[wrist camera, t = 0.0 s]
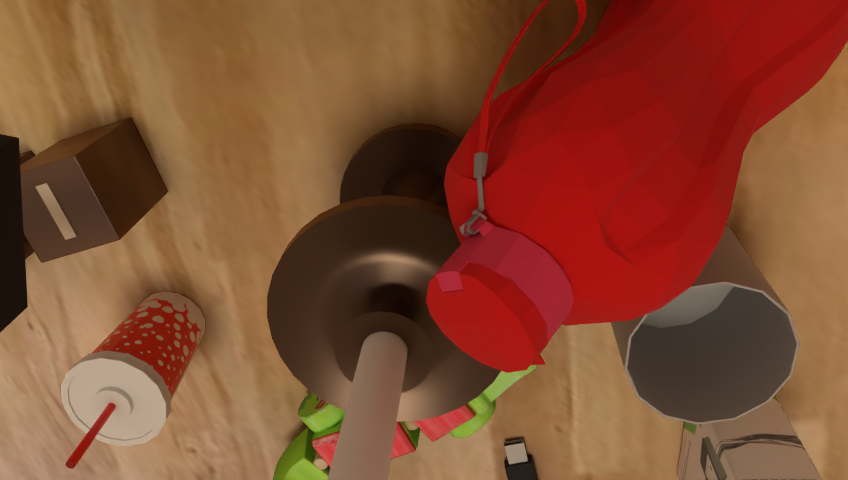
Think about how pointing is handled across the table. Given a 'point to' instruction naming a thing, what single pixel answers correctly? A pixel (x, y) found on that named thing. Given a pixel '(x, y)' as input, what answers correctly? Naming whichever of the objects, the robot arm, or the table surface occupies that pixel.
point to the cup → (712, 343)
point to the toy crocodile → (314, 448)
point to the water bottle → (615, 166)
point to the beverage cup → (133, 373)
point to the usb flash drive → (518, 462)
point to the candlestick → (376, 299)
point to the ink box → (745, 449)
